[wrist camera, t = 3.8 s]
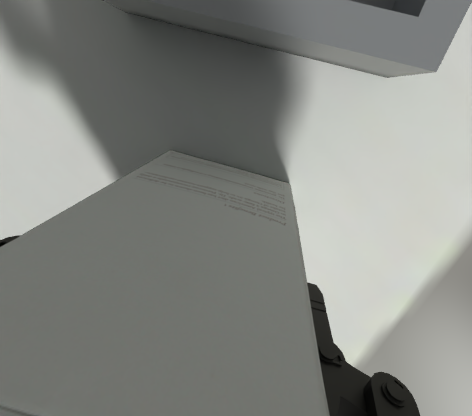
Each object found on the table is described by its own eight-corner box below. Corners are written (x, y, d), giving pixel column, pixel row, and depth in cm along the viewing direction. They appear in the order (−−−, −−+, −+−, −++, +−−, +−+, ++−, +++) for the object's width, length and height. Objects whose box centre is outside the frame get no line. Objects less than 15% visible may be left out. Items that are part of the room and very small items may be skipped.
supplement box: (154, 251, 18) (-69, 540, 6) (169, 145, 15) (-227, 346, 3) (258, 283, 18) (222, 640, 6) (296, 183, 14) (368, 543, 3)
